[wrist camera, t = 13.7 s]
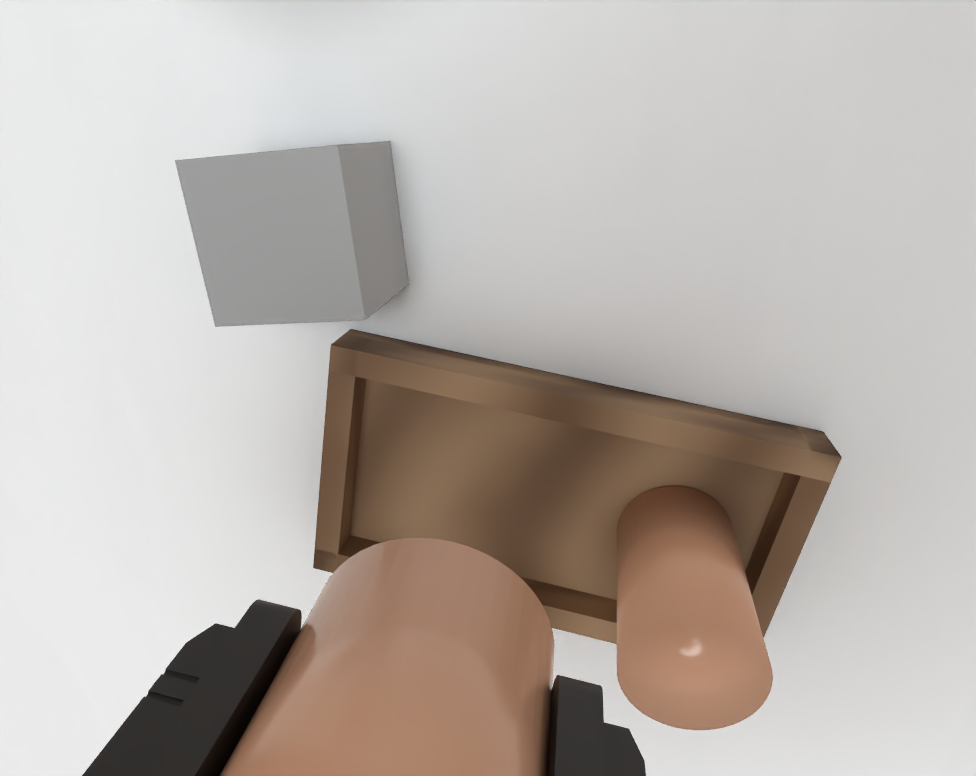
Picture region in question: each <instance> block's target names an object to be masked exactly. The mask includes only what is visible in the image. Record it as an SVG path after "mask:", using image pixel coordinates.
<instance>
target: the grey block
mask: <svg viewBox="0 0 976 776" xmlns="http://www.w3.org/2000/svg"><path fill="white" fill-rule="evenodd" d="M175 162H176V166H177V171H178V175H179V179H180V183H181V187H182V191H183V195H184V199H185V204H186V208H187V212H188V216H189V220H190V224H191V228H192V232H193V236H194V241H195V245H196V249H197V253H198V257H199V261H200V265H201V269H202V274H203V278H204V282H205V286H206V290H207V294H208V298H209V302H210V307H211V311H212V315H213V319H214V323H215V327H218V326H240V325H263V324H286V323H309V322H331V321H354V320H366V319H367V318H368V317H370V316H371V315H372V314H373V313H374V312H376V311H377V310H378V309H379V308H381V307H382V306H383V305H384V304H385V303H387V302H388V301H389V300H390V299H391V298H393V297H394V296H395V295H396V294H398V293H399V292H400V291H401V290H402V289H404V288H405V287H406V286H407V285H408V284H409V281H408V274H407V266H406V258H405V251H404V243H403V236H402V228H401V220H400V213H399V205H398V197H397V190H396V182H395V175H394V167H393V159H392V152H391V144H390V141H384V142H371V143H357V144H344V145H332V146H322V147H311V148H301V149H290V150H279V151H269V152H258V153H248V154H237V155H227V156H216V157H206V158H195V159H185V160H175Z"/></svg>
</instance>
